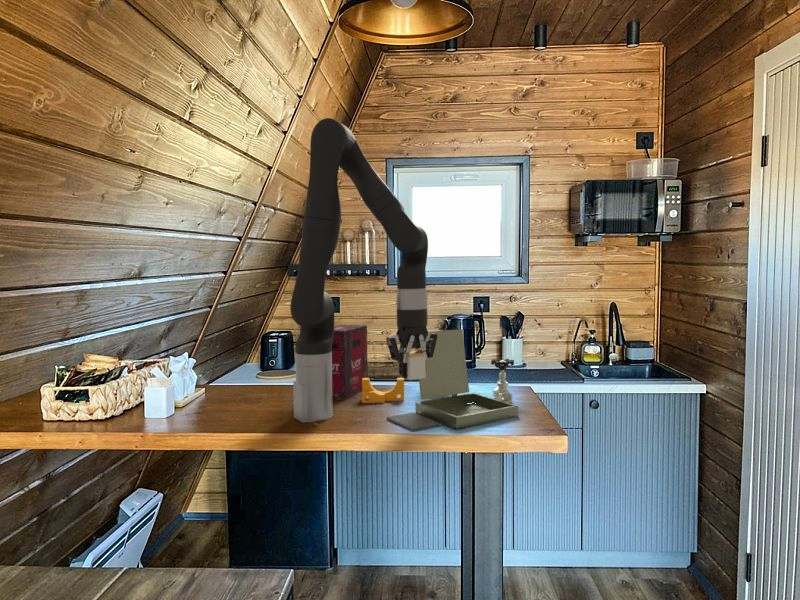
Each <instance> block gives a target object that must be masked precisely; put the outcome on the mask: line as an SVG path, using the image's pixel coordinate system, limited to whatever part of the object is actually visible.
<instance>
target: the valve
mask: <svg viewBox="0 0 800 600" xmlns="http://www.w3.org/2000/svg"><path fill="white" fill-rule="evenodd" d="M490 363H491V364H490V365H492V366H495V368H496V369H498V370H500V372H499V373H498V376H499V377H498V378H499V381H497V384H496V385H497V387H495V388H493V390H492V391H493V392H492V394H493V395H492V396H493V397H494V399H497V400H500V401H503V402H507V403H510V404H511V402H513V393H511V392H510V391H509V390H508V387H509V382H507V380H506V379H507V373H506V372H505V371H506V370H507V369H508V367H509V365H510V366H515V359H510V358H505V359H502V358H497V359H495V358H494V359H491V362H490Z"/></svg>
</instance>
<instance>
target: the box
mask: <svg viewBox="0 0 800 600" xmlns="http://www.w3.org/2000/svg"><path fill="white" fill-rule="evenodd" d="M368 368H369V367H368V325H363V324H339V325H334V338H333V342H332V400H339V401H340V400H341V401H343V400H344V401H347V400H348V399H350V398H352V397H353V396H355V395H356V394H358V393H360V392H362V379H363V378H369V377H368V376H369V375H368V373H369V372H368Z"/></svg>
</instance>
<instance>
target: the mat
mask: <svg viewBox="0 0 800 600" xmlns="http://www.w3.org/2000/svg"><path fill="white" fill-rule="evenodd" d="M386 420H387V421H389V422H390V423H391V422H392V424H395V425H398V426H400V427H403V428H405V429H406V430H409V431H411V432H416V431H422V430H426V429H433V428H436V427H441V424H440V423H438V422H435V421H433V420H430V419H428V418H426V417H423V416H421V415H418V414H416V412H408V413H403V414H397V415H393V416H392V415H391V416H387V417H386Z"/></svg>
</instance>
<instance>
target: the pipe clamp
mask: <svg viewBox="0 0 800 600" xmlns="http://www.w3.org/2000/svg"><path fill="white" fill-rule="evenodd" d="M396 380H397V381H396V383H395V385H394V386H393V388H391V389H389V390H387V391H380V390H378V389H376V388H374V386H373V385H372V383H371V379H370V377H368V378H363V379H362V391H361V404H363V403H364V404H370V403H371V404H372V403H374V404H375V403H378V404H379V403H382V404H383V403H385V402H387V401H388V402H390V401H391V402H393V401H394V402H396V401H397V402H399V401H400V402H401V401H403V402H404V401H405V378H402V377H397V378H396ZM398 395H399V396H398Z"/></svg>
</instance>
